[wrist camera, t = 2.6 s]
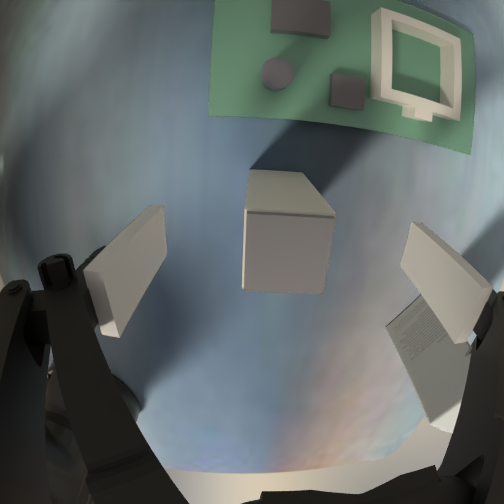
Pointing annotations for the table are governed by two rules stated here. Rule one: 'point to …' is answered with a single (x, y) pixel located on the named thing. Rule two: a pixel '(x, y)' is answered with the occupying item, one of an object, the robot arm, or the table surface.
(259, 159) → the table surface
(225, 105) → the board
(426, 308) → the small box
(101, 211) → the table surface
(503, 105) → the table surface
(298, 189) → the plug
